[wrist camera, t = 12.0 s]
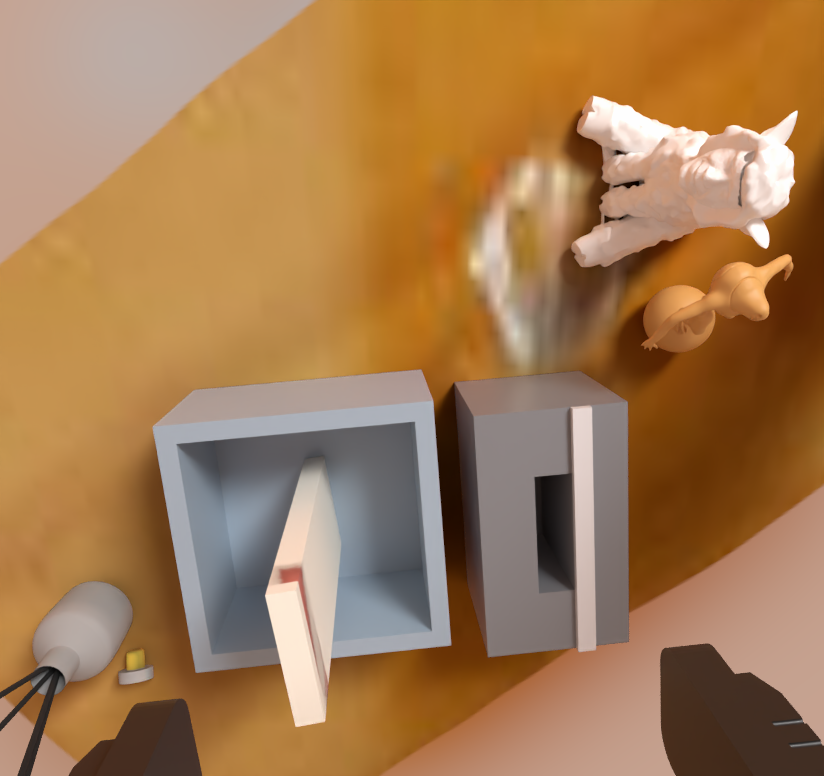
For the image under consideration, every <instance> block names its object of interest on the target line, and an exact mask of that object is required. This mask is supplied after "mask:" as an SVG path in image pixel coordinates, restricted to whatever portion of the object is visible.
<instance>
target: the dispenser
mask: <svg viewBox="0 0 824 776" xmlns="http://www.w3.org/2000/svg"><path fill="white" fill-rule="evenodd" d="M454 386H455V401H456V417H457V432H458V447H459V462H460V477H461V492H462V507H463V522H464V538H465V553H466V568H467V583H468V587H469V591H470V594H471V598H472V602H473V605H474V609H475V612H476V616H477V620H478V623H479V627H480V630H481V634H482V637H483V641H484V645H485V648H486V652H487V655H488V657H496V656H505V655H514V654H523V653H533V652H542V651H551V650H560V649H569V648H577V650H578V652H584V651H592V650H596V646H597V645H606V644H615V643H624V642H629V563H628V402H627V401H626V400H624V399H623V398H621V397H620V396H618V395H617V394H615V393H613V392H612V391H610V390H609V389H607V388H606V387H604V386H603V385H601V384H600V383H598V382H596V381H595V380H593V379H592V378H590V377H589V376H587V375H586V374H584V373H583V372H581V371H572V372H561V373H550V374H539V375H528V376H517V377H506V378H495V379H484V380H473V381H462V382H454Z"/></svg>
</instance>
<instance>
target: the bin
mask: <svg viewBox="0 0 824 776" xmlns="http://www.w3.org/2000/svg"><path fill="white" fill-rule="evenodd" d="M153 432H154V438H155V443H156V449H157V455H158V460H159V466H160V472H161V477H162V483H163V489H164V494H165V500H166V506H167V511H168V517H169V523H170V529H171V534H172V540H173V546H174V551H175V557H176V563H177V568H178V574H179V580H180V585H181V591H182V597H183V602H184V608H185V614H186V620H187V625H188V631H189V637H190V642H191V648H192V654H193V659H194V665H195V671H196V673H200V672H209V671H219V670H228V669H237V668H246V667H256V666H265V665H274V664H281V662H280V657H279V653H278V649H277V644H276V640H275V636H274V632H273V627H272V623H271V619H270V614H269V610H268V606H267V602H266V597H265V594H266V591H267V587H268V584H269V580H270V577H271V573H272V570H273V567H274V563H275V560H276V556H277V553H278V549H279V546H280V542H281V539H282V536H283V532H284V529H285V525H286V522H287V518H288V515H289V511H290V508H291V505H292V501H293V498H294V494H295V491H296V487H297V484H298V480H299V477H300V473H301V470H302V467H303V463H304V460H305V459H307V458H313V457H319V456H324V459H325V464H326V469H327V474H328V479H329V484H330V489H331V494H332V499H333V504H334V509H335V514H336V519H337V524H338V529H339V534H340V539H341V554H340V564H339V575H338V586H337V597H336V608H335V619H334V630H333V641H332V651H331V658H339V657H348V656H358V655H367V654H376V653H385V652H395V651H404V650H413V649H422V648H432V647H441V646H450V645H451V634H450V621H449V607H448V594H447V580H446V567H445V553H444V540H443V526H442V513H441V499H440V486H439V472H438V459H437V445H436V432H435V418H434V405H433V399H432V396H431V394H430V391H429V388H428V386H427V383H426V381H425V378H424V375H423V373H422V370H410V371H399V372H388V373H377V374H366V375H355V376H344V377H333V378H322V379H310V380H299V381H288V382H277V383H266V384H255V385H244V386H233V387H222V388H211V389H200V390H194V391H192V392H191V393H190V394H189V395H188V396H187V397H186V398H184V399H183V400H182V401H181V402H180V403H179V404H178V405H177V406H175V407H174V408H173V409H172V410H171V411H170V412H169V413H168V414H166V415H165V416H164V417H163V418H162V419H161V420H160V421H158V422H157V423H156V424H155V425H154V426H153Z"/></svg>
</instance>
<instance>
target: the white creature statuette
mask: <svg viewBox="0 0 824 776" xmlns="http://www.w3.org/2000/svg"><path fill="white" fill-rule="evenodd" d="M582 114H583V116H582V117H581V118H580V119H579V120H578V126H577V132H578V133H579V134H580V135H582V136H583V137H585V138H588V139H592V140H594V141H596V142H597V144H599V145H601V146H602V154H603V166H602V170H603V176H601V177H602V179H603V180H604V181H605V182H606V183H610V187H609V192H606V193H605V194H604V195H602V196H601V200H603V203H602V204H601V205H599V209H600V211H601V225H598V226H595V227H594V228H593V229H592V231H591V233H589V234H587V235H584V236H582V237H580V238H579V239H577V240H576V241H575V242H573V243H572V245H571V246H572V247H571V250H572V252H574V253H575V254H576V255H575V256H574V258H575V259H576V261H577V262H578V264H579V265H580V266H581V267H592V266H595V265H598V264H600V265H602V266H603V267H607V266H609V265H611V264H612V263H613V262H615V261H618V260H620V259H621V258H623V257H624V256H627V255H629V254H631V253H633V252H640V251H641V250H642V249H644V248H647V247H650V246H655V245H656V244H658V243H659V242H660V241H662V240H668V241H673V240H674V239H678V238H681V237H682V236H683V235H685V234H688V233H693V232H694V230H695V229H697V228H706V227H713V226H722V227H725V228H732V229H739V230H741V231H742V232H743V233H744V234H746V235H749V236H752V237H753V238H754V240H755V241H756V242H757V243H758V244H759V245H760V246H761V247H763V248H766V249H767V247H768V246H769V233H768V230H767V228H766V226H765V223H764V222H763V220H765V219H768V218H771V217H773V216H775V215H776V214H777V213H778V212H779V211H780V210H781V209H783V208H784V207H786V206H787V204H788V203H789V191H790V189H791V187H792V186H793V185H794V183H795V181H794V178H793V167H794V156H793V152H792V151H790V150H789V149H788V147H787V146H785V145H784V144H785V143H786V141H787V140H788V139H789V137H790V135H791V133H792V131H793V128H794V125H795V123H796V118H797V114H798V111H795V112H793V113H792V114H790V115H789V116H788V117H787V118H785V119H784V120H783V121H782V122H781V123H779V124H778V125H777V126H775V127H773V128H770V129H768V130H766V131H764V132H763V133H761V134H760V135H759V134H758V133H756V132H754V131H752V130H749V129H743V128H741V127H739V126H735V125H732V126H728V127H727V128H726V129H725V131H724V133H722V134H718V135H712V136H709V135H708V134H707V133H706V132H704V131H697V132H693V131H692V130H687V128H685V127H684V126H683V127H680V128H672V127H671V126H669V125H665V124H662V123H659V122H658V121H657V120H650V119H649V118H647V117H644V116H642V115H641V114H640V113H638V112H635V111H634V110H633V108H632V107H630V106H628V105H627V106H622V105H618V104H617V103H615V102H611V101H608V100H606V99H604V98H600V97H596V96H591V97H590V98H589V100H588V101H587V103H586V104H585V106H584V108H583V111H582ZM616 150H619V151H621V152H622V153H623V154H624V155H623V154H618V155H616ZM634 181H639V186H636V185H633V186H631V187H630V188H626V187H625V186H619V187H615V188H613V186H614V185H621V184H624V183H627V182H634ZM604 215H605V216H607V217H610V218H615V221H609V222H607V223H604ZM622 216H624V217H623V218H622V219H621V220H619V219H618V218H621V217H622Z"/></svg>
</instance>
